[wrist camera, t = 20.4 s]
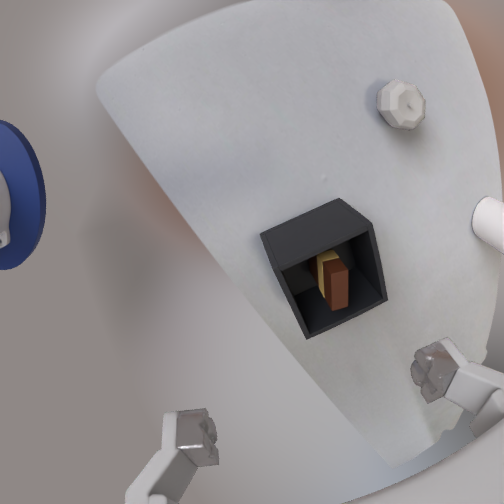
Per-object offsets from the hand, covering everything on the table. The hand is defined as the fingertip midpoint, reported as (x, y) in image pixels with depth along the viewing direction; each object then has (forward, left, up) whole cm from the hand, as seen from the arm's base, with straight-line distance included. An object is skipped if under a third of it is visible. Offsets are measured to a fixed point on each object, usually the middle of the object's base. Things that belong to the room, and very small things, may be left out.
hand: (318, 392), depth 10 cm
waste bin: (+6, -16, -35) cm, 39 cm away
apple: (+26, +2, -35) cm, 44 cm away
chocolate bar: (+6, -16, -34) cm, 38 cm away
